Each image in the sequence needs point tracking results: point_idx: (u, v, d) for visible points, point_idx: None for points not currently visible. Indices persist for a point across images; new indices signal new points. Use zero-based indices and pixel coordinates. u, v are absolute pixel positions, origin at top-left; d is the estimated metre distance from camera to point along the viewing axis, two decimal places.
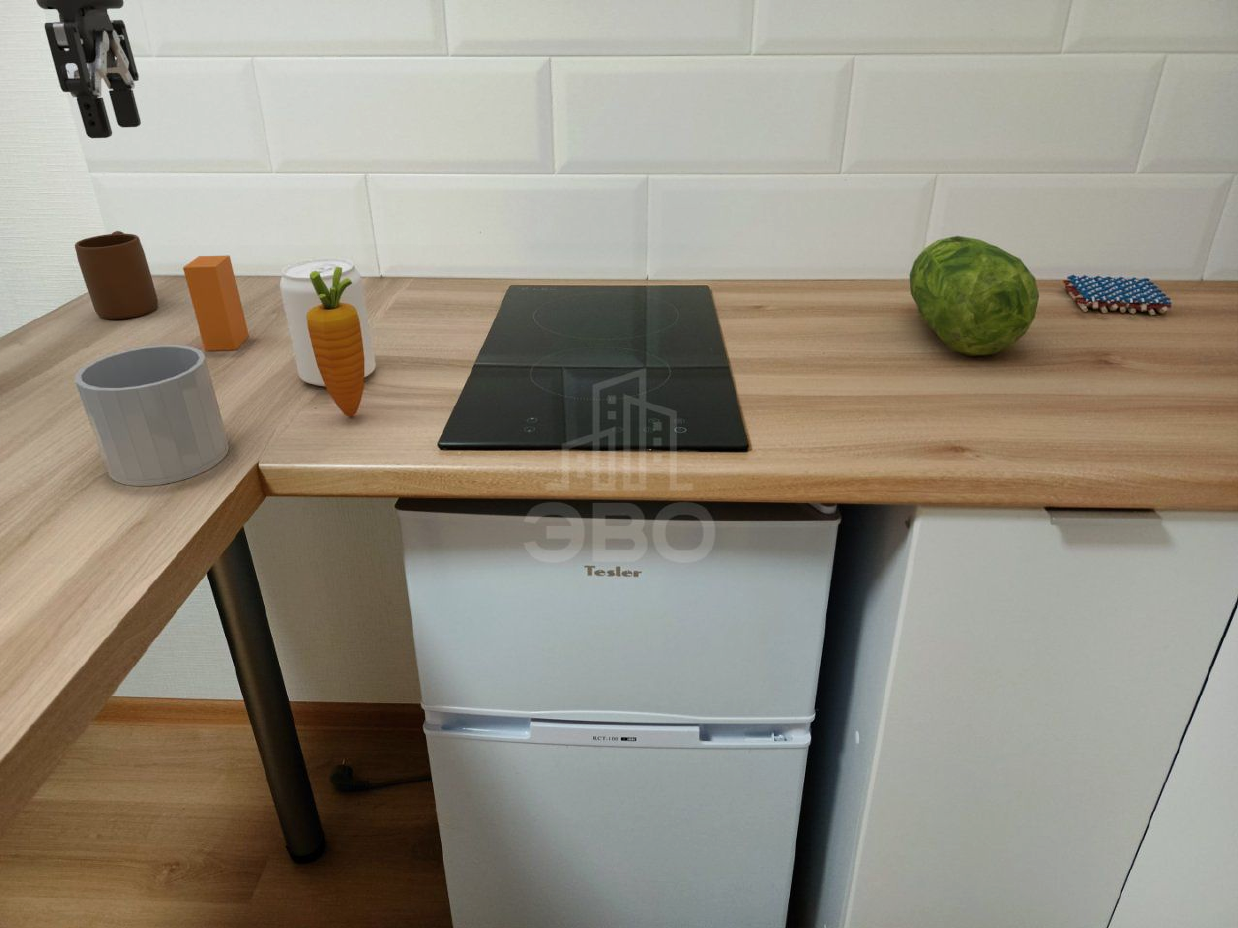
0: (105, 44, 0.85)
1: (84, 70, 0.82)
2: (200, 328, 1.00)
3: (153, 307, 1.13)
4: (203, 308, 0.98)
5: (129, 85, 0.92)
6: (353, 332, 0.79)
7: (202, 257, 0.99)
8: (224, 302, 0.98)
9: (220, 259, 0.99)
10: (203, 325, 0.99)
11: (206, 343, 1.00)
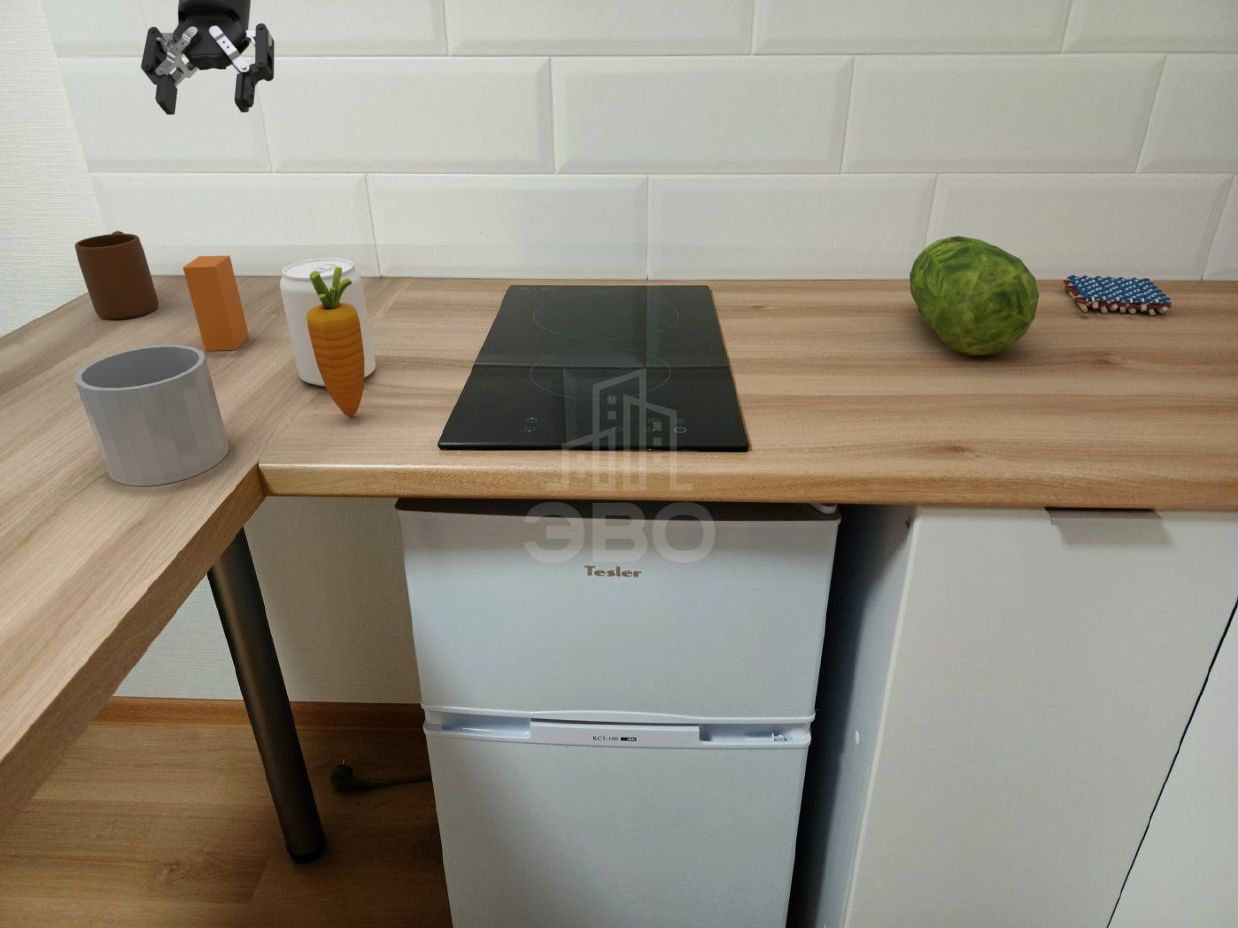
0: None
1: None
2: (200, 328, 1.00)
3: (153, 307, 1.13)
4: (203, 308, 0.98)
5: (176, 85, 1.00)
6: (353, 332, 0.79)
7: (202, 257, 0.99)
8: (224, 302, 0.98)
9: (220, 259, 0.99)
10: (203, 325, 0.99)
11: (206, 343, 1.00)
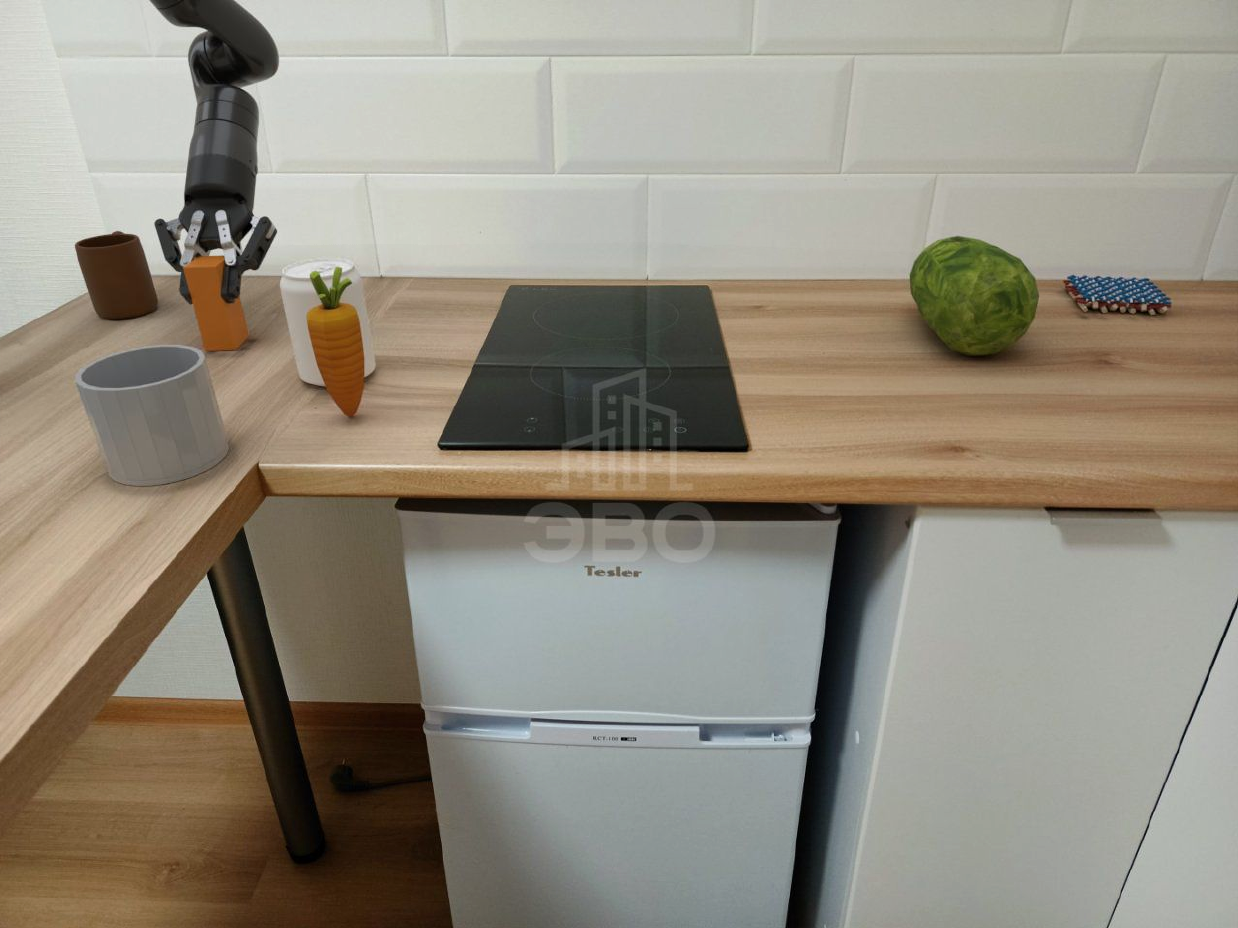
0: None
1: None
2: (201, 328, 1.00)
3: (153, 307, 1.13)
4: (203, 308, 0.98)
5: None
6: (353, 332, 0.79)
7: (202, 257, 0.99)
8: (224, 302, 0.98)
9: (220, 259, 0.99)
10: (203, 325, 0.99)
11: (207, 343, 1.00)
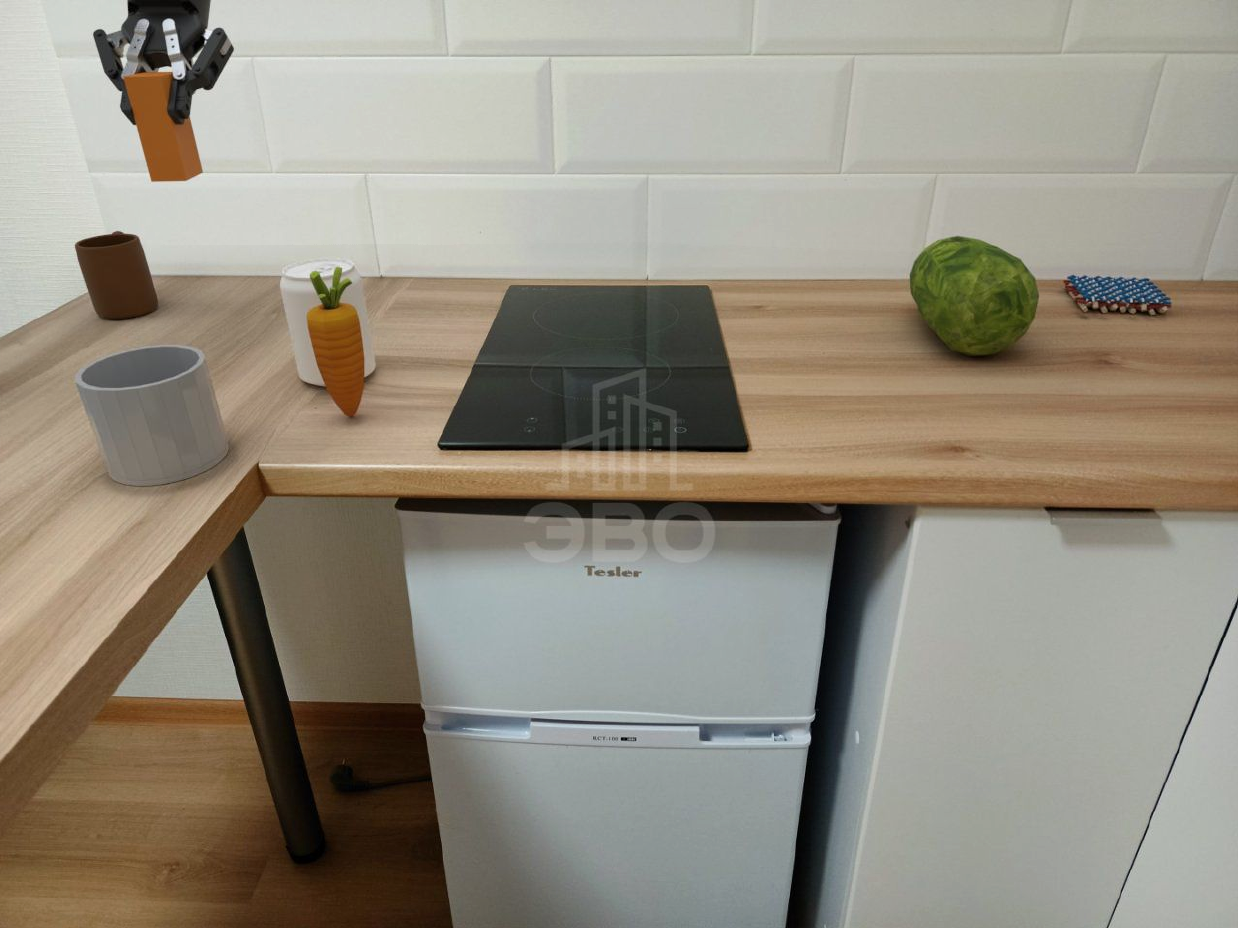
0: None
1: None
2: (145, 153, 0.88)
3: (153, 307, 1.13)
4: (147, 128, 0.86)
5: None
6: (353, 332, 0.79)
7: (147, 72, 0.88)
8: (172, 121, 0.86)
9: (167, 73, 0.87)
10: (148, 149, 0.87)
11: (153, 171, 0.89)
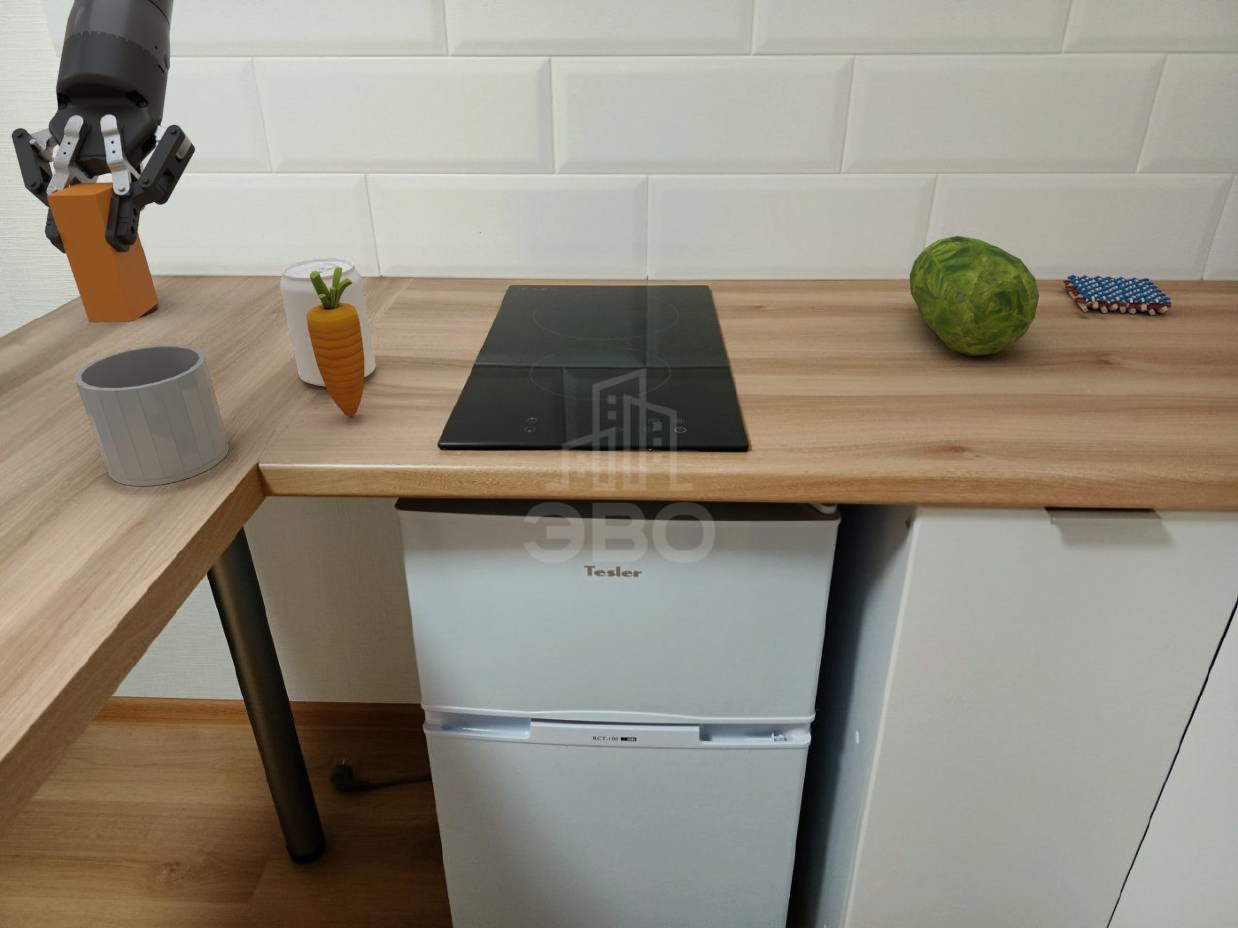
0: None
1: None
2: (80, 289, 0.68)
3: (153, 307, 1.13)
4: (81, 259, 0.67)
5: None
6: (353, 332, 0.79)
7: (82, 184, 0.68)
8: (112, 249, 0.66)
9: (107, 186, 0.67)
10: (83, 284, 0.68)
11: (90, 310, 0.69)
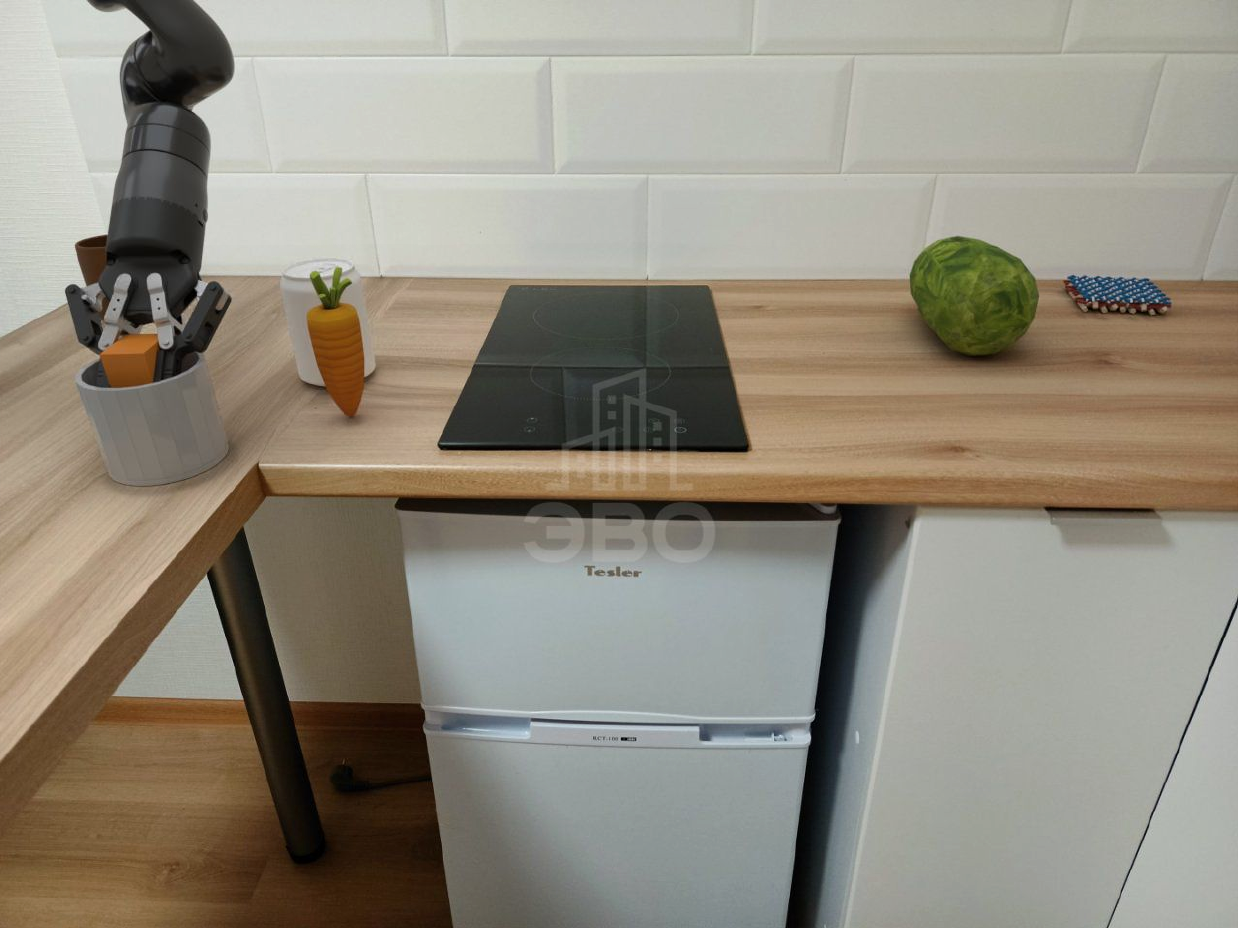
0: None
1: None
2: None
3: None
4: None
5: None
6: (353, 332, 0.79)
7: (129, 336, 0.74)
8: None
9: (153, 340, 0.73)
10: None
11: None
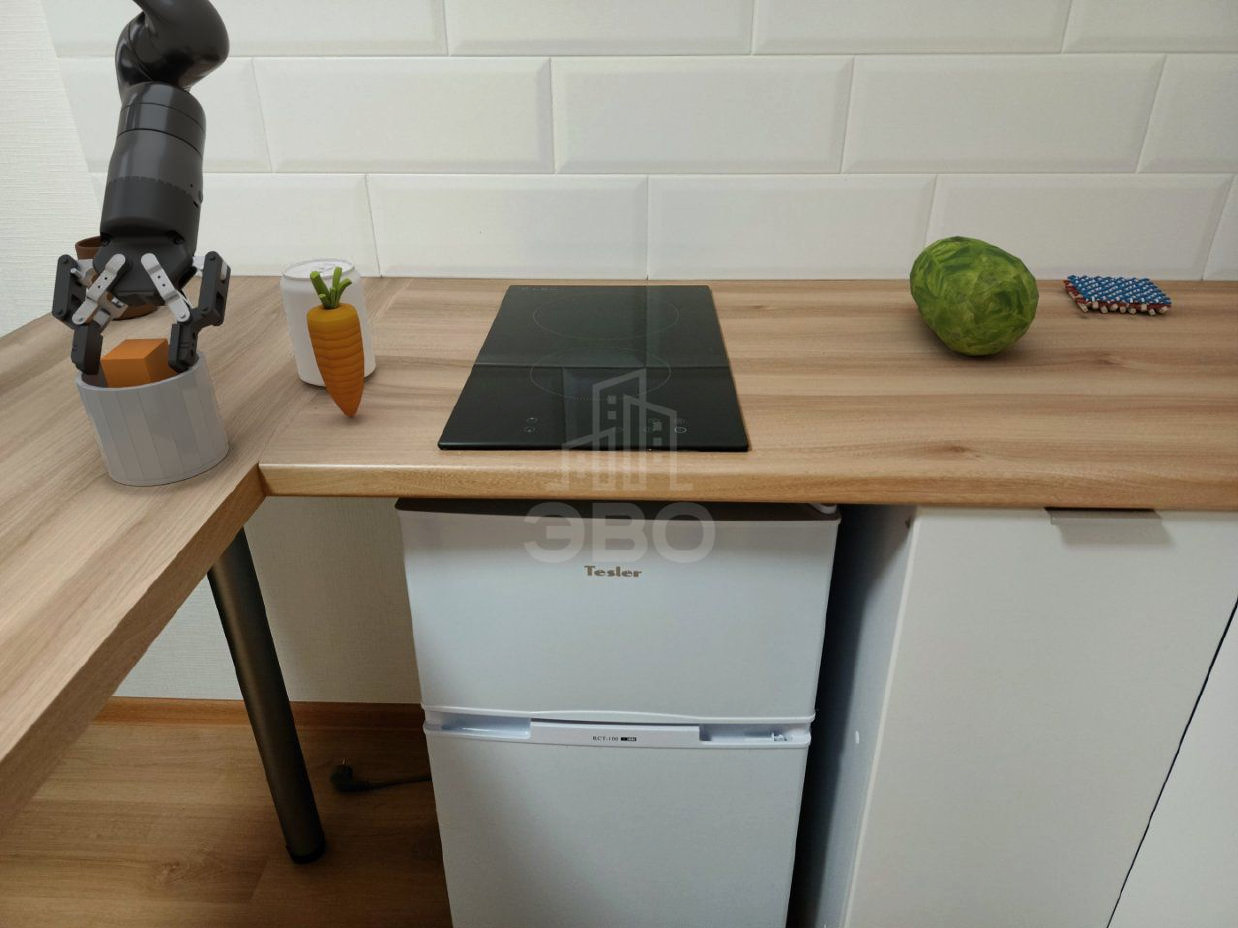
0: None
1: None
2: None
3: (153, 307, 1.13)
4: None
5: (101, 331, 0.74)
6: (353, 332, 0.79)
7: (130, 341, 0.74)
8: None
9: (153, 345, 0.73)
10: None
11: None
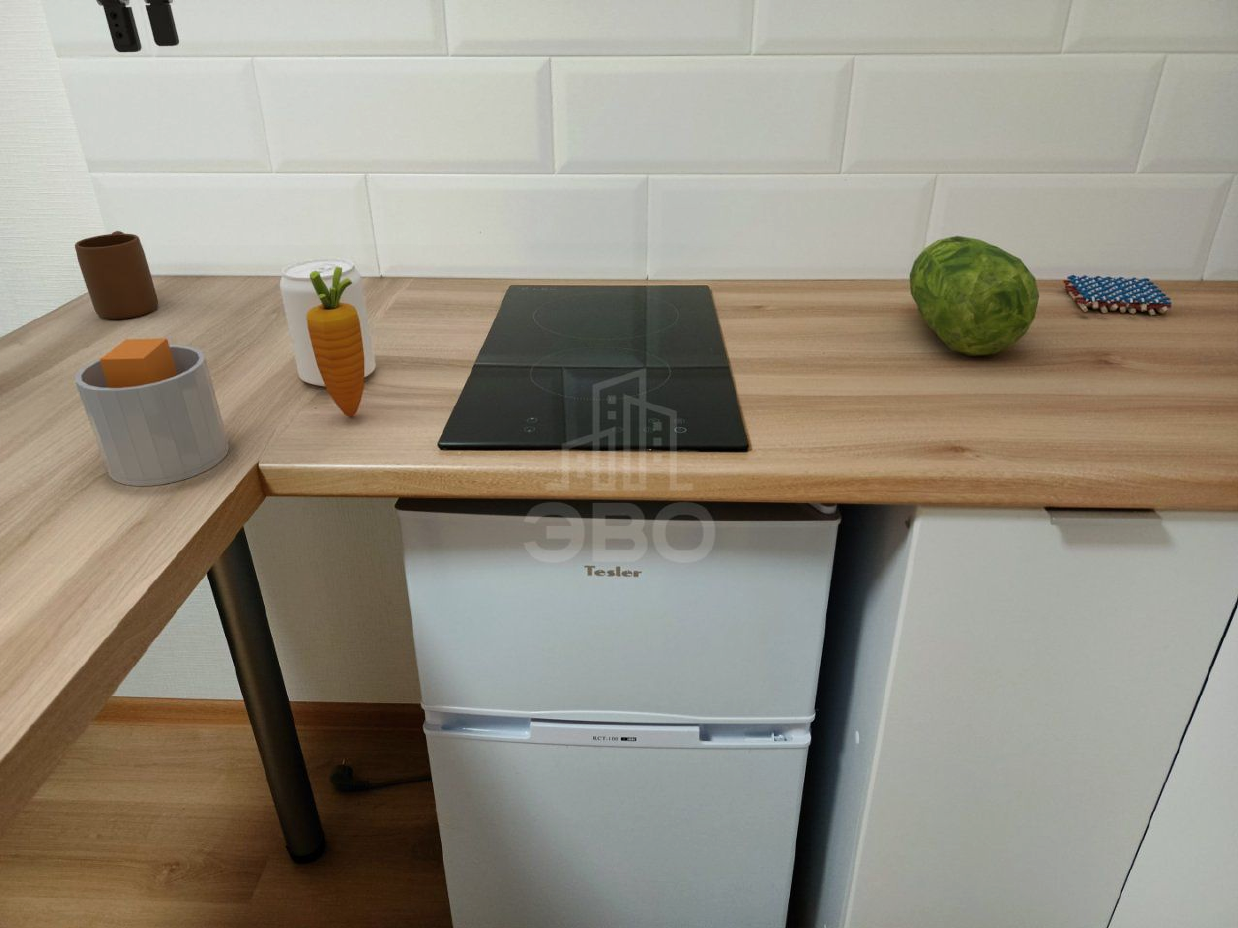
0: None
1: None
2: None
3: (153, 307, 1.13)
4: None
5: None
6: (353, 332, 0.79)
7: (129, 341, 0.74)
8: None
9: (153, 345, 0.73)
10: None
11: None
